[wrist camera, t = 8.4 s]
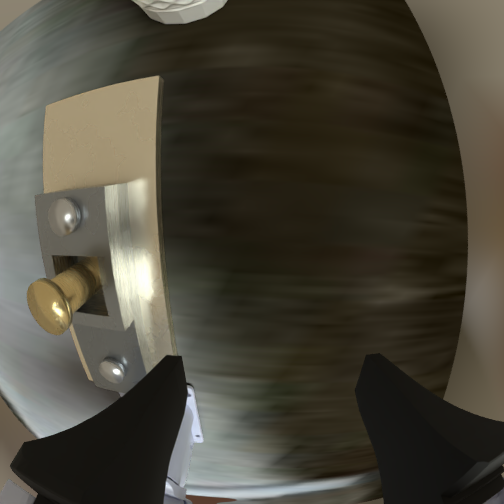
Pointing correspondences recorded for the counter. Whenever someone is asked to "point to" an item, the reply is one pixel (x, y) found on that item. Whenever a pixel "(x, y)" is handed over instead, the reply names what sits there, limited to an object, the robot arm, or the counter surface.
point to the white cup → (179, 9)
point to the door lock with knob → (110, 225)
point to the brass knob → (63, 295)
